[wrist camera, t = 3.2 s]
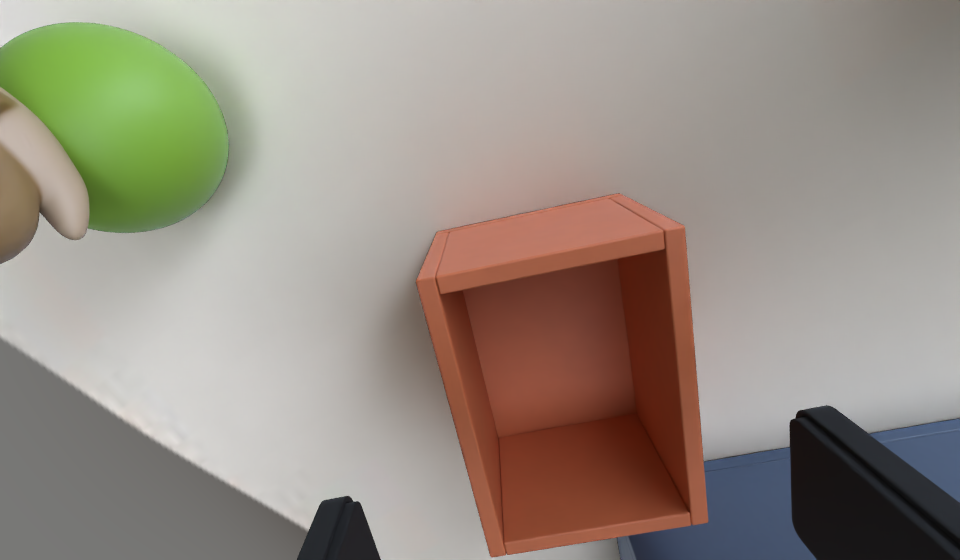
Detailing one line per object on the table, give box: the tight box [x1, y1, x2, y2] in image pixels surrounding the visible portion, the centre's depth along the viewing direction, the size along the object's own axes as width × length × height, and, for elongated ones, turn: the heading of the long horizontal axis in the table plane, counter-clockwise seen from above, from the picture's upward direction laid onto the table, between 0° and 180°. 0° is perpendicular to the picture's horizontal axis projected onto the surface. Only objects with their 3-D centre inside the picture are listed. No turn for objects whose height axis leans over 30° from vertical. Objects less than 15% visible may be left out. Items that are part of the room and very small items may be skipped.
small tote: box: [416, 193, 708, 557], centre depth 15 cm, size 9×6×6 cm
